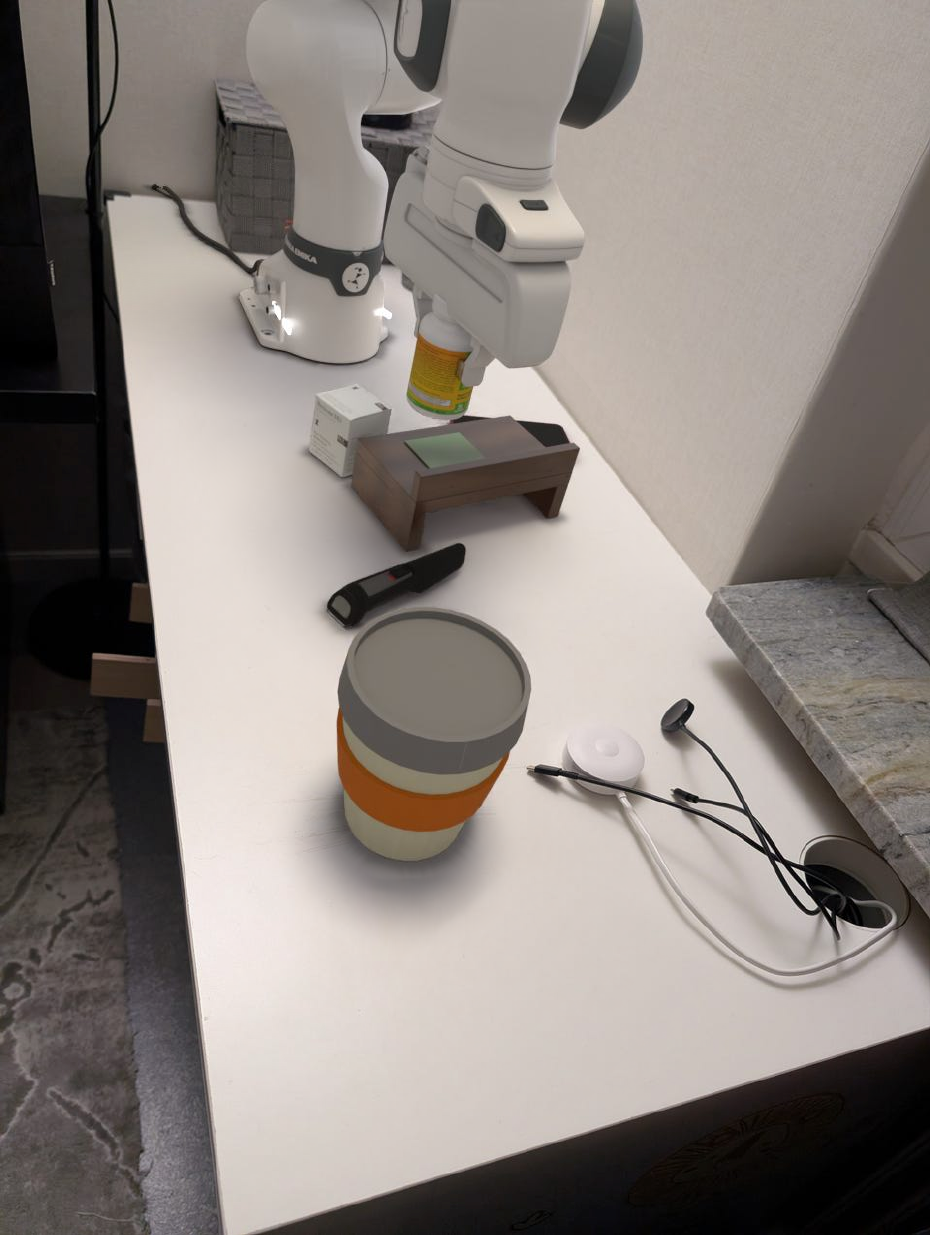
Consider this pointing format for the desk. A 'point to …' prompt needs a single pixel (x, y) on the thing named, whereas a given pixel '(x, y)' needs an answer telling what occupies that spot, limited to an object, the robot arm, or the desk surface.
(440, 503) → the shelf
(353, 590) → the electric trimmer
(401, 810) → the reusable coffee cup
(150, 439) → the desk surface
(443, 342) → the supplement bottle
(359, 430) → the product carton
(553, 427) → the smartphone
